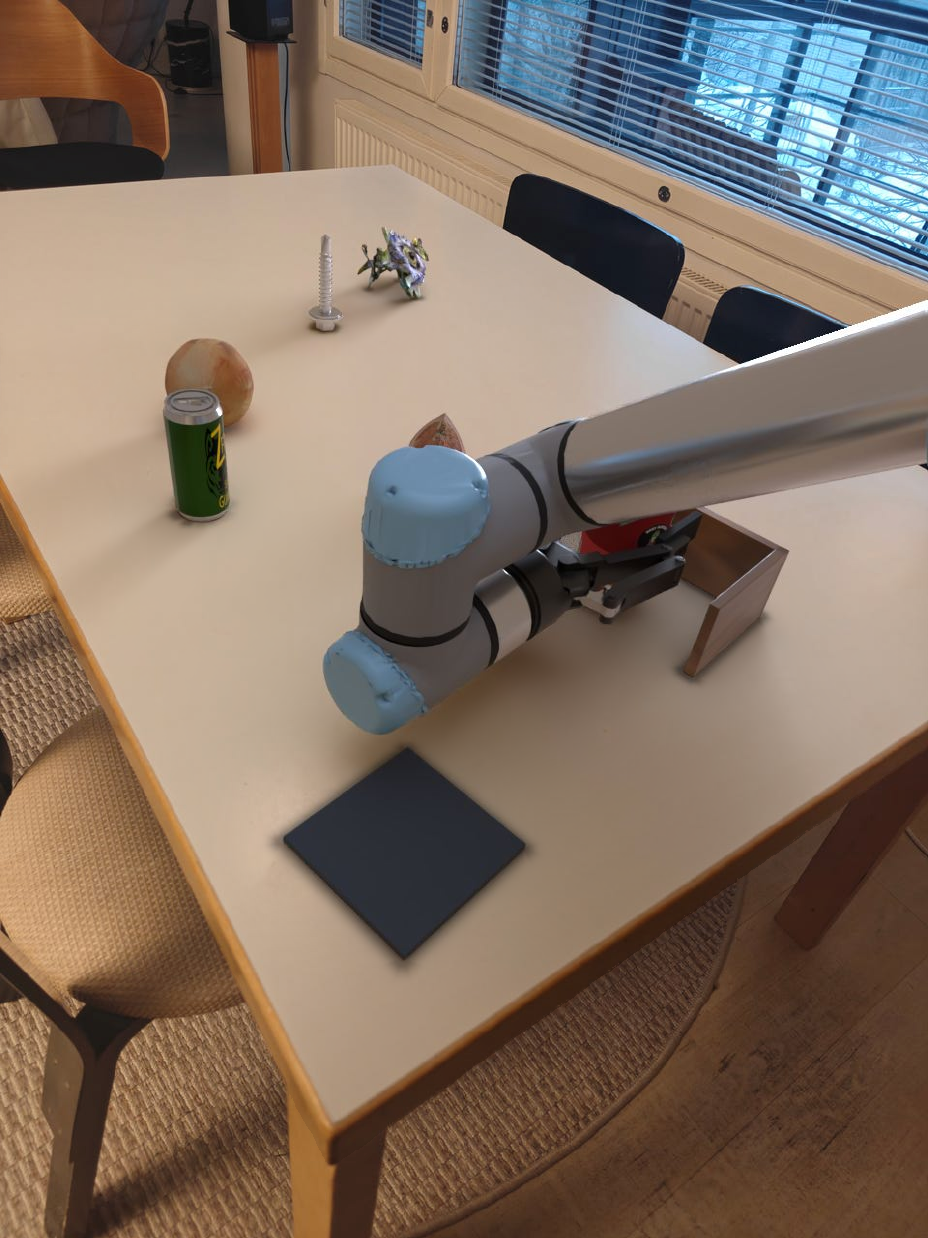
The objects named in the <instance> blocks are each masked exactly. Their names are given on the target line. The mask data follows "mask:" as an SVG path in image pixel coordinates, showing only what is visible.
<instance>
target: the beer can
mask: <svg viewBox="0 0 928 1238" xmlns="http://www.w3.org/2000/svg"><path fill="white" fill-rule="evenodd" d="M164 398H165V399H164V408H163V410H162V415H163V421H164V429H165V431H164V432H165V437H166V438H165V439H166V446H167V453H168V461H169V469H170V476H171V484H172V492H173V499H174V505H175V508H176V510H177V511H178V512H179V514H180V515H181V516H182V518H185V519H186V520H189V521H192V522H199V523H200V522H201V523H202V522H205V523H206V522H211V521H212V522H213V521H214V520H218V519H219V518H221V517H223V516H224V515H225V514H226V513H227V511H228V509H229V506H230V503H231V499H230V498H231V497H230V486H229V473H228V461H227V449H226V435H225V426H224V422H223V411H222V408H221V406H220V404H219V399H218V397H217V396H216V395H215V394H213V393H211V392H209V391H205V390H200V389H184V390H179V391H176V392H173V393H171V394H169V395H168V396H167V395H166V397H164Z"/></svg>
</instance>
